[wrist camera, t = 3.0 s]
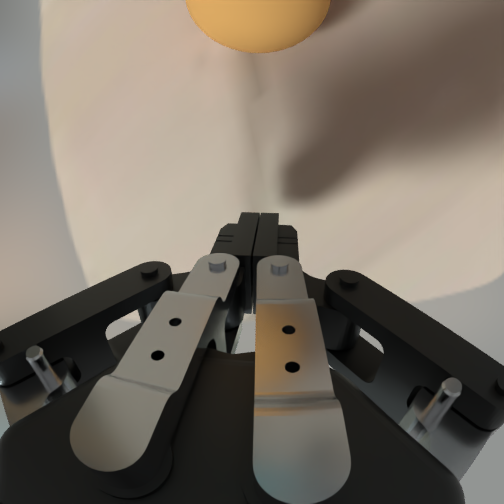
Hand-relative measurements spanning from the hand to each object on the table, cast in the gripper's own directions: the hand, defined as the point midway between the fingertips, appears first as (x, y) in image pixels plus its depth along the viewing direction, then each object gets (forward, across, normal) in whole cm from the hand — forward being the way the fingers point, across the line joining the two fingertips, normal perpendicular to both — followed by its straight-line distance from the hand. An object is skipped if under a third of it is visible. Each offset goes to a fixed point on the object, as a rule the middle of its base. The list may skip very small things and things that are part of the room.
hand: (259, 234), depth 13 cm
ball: (0, 0, -10) cm, 10 cm away
